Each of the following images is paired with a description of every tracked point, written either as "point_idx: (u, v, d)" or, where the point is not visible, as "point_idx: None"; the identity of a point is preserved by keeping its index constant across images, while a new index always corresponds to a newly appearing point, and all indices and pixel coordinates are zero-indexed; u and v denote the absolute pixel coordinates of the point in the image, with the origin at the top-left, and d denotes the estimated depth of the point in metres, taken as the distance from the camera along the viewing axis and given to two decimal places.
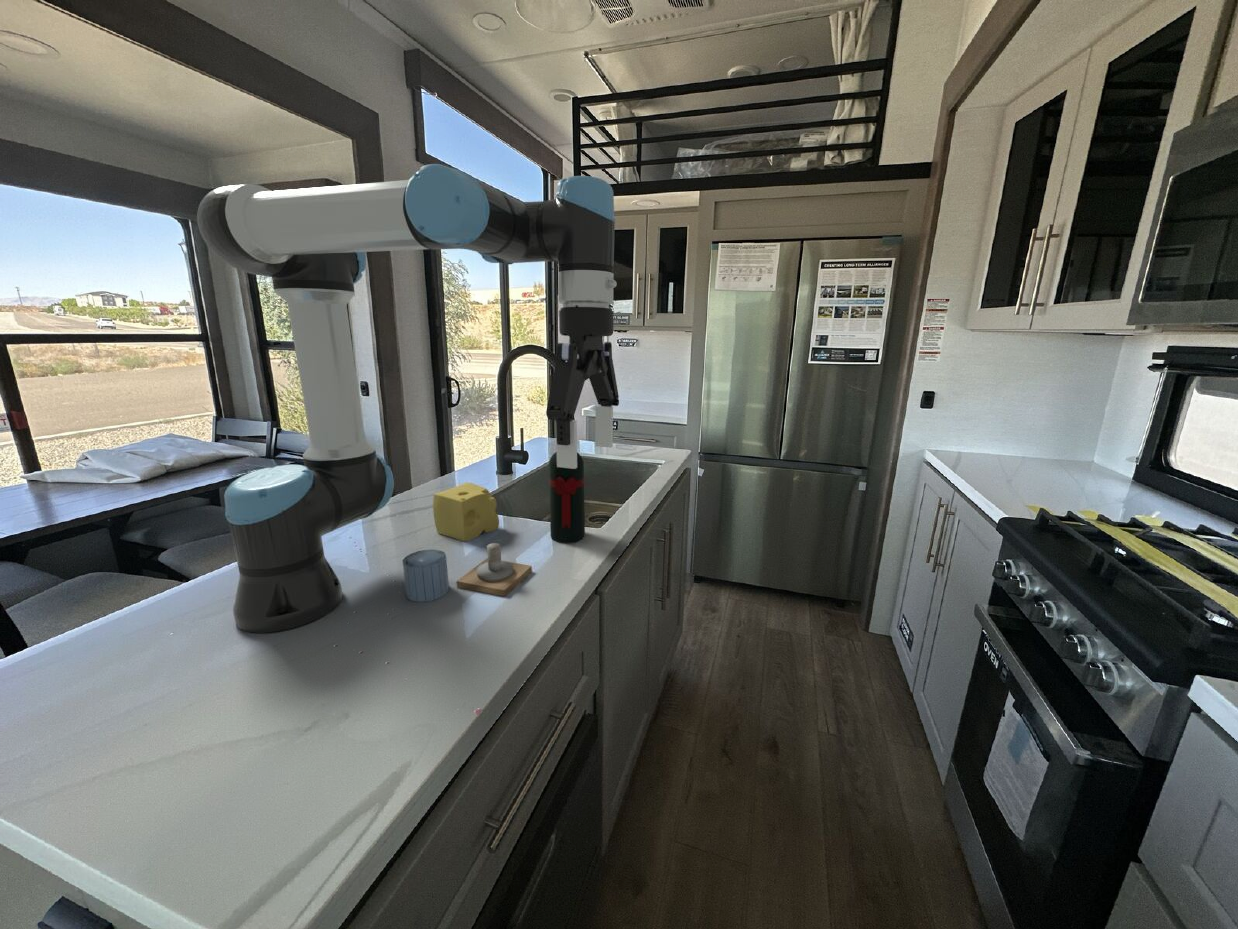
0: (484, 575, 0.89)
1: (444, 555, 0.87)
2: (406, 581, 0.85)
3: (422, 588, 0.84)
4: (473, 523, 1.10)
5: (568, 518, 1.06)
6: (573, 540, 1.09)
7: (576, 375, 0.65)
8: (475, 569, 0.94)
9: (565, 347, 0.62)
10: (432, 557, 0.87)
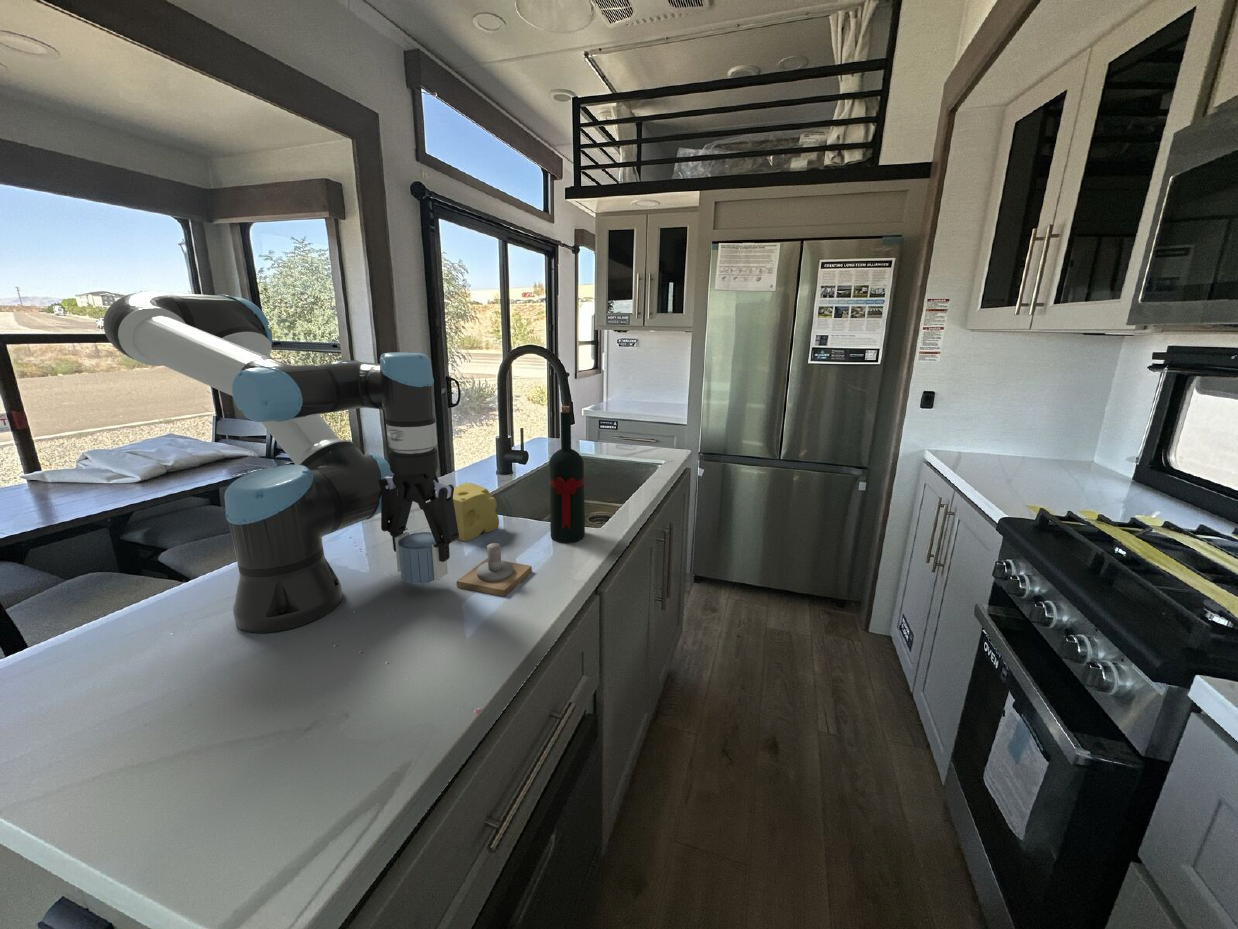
0: (484, 575, 0.89)
1: None
2: (401, 563, 0.84)
3: (417, 570, 0.83)
4: (473, 523, 1.10)
5: (568, 518, 1.06)
6: (573, 540, 1.09)
7: None
8: (475, 569, 0.94)
9: None
10: (427, 539, 0.86)
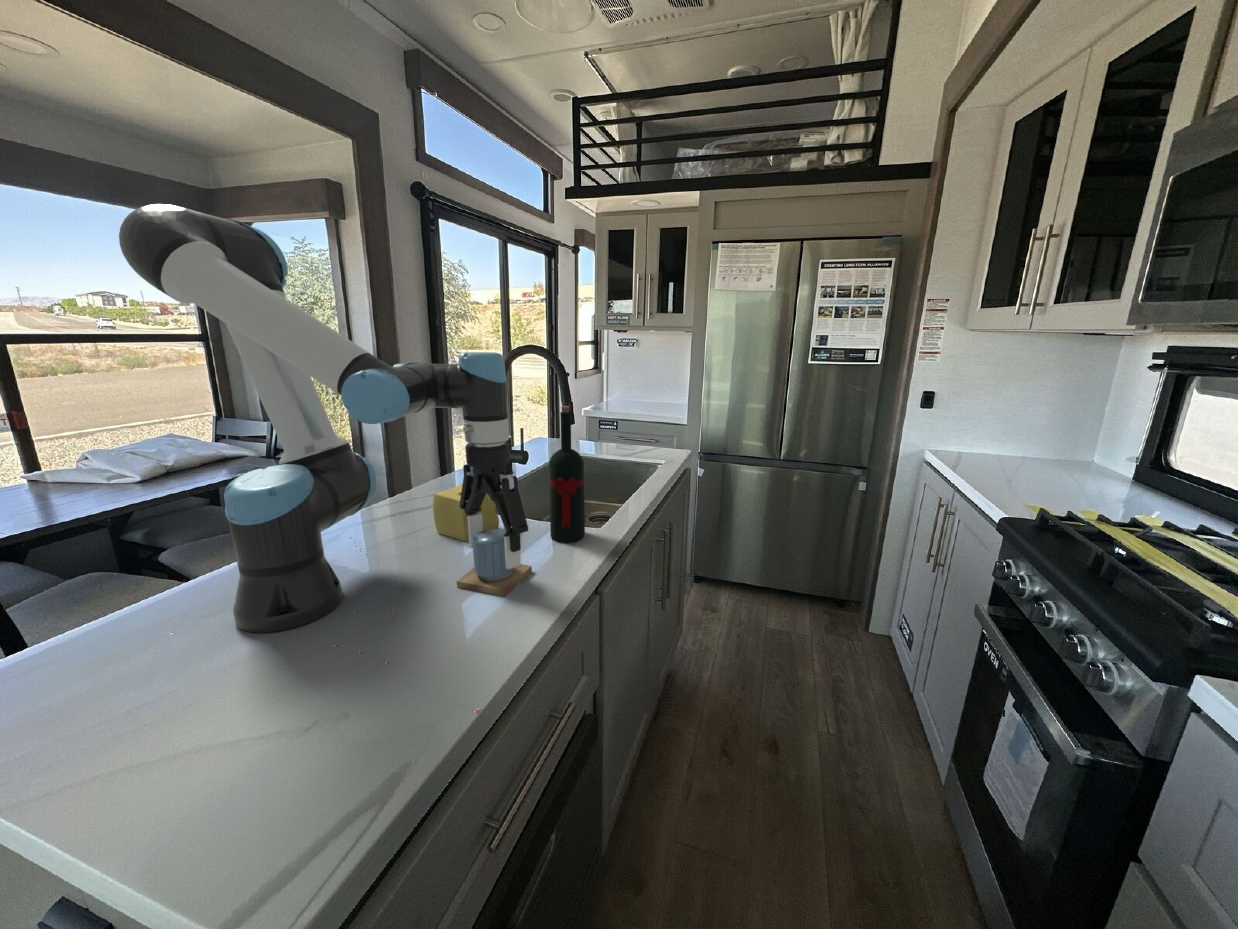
0: None
1: None
2: None
3: (484, 564, 0.88)
4: None
5: (568, 518, 1.06)
6: (573, 540, 1.09)
7: None
8: None
9: None
10: (499, 536, 0.90)
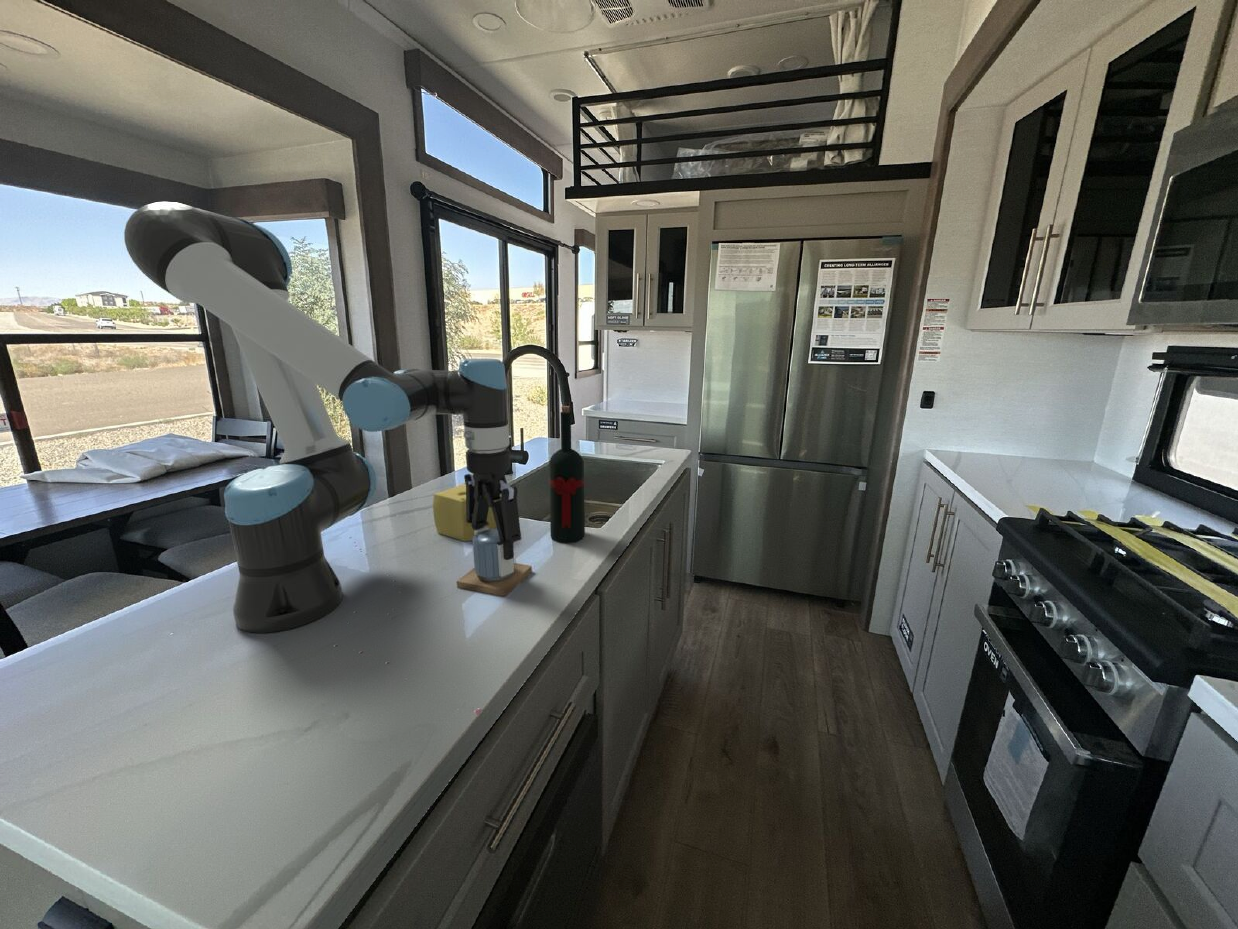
0: None
1: None
2: None
3: (484, 564, 0.88)
4: None
5: (568, 518, 1.06)
6: (573, 540, 1.09)
7: None
8: None
9: None
10: None
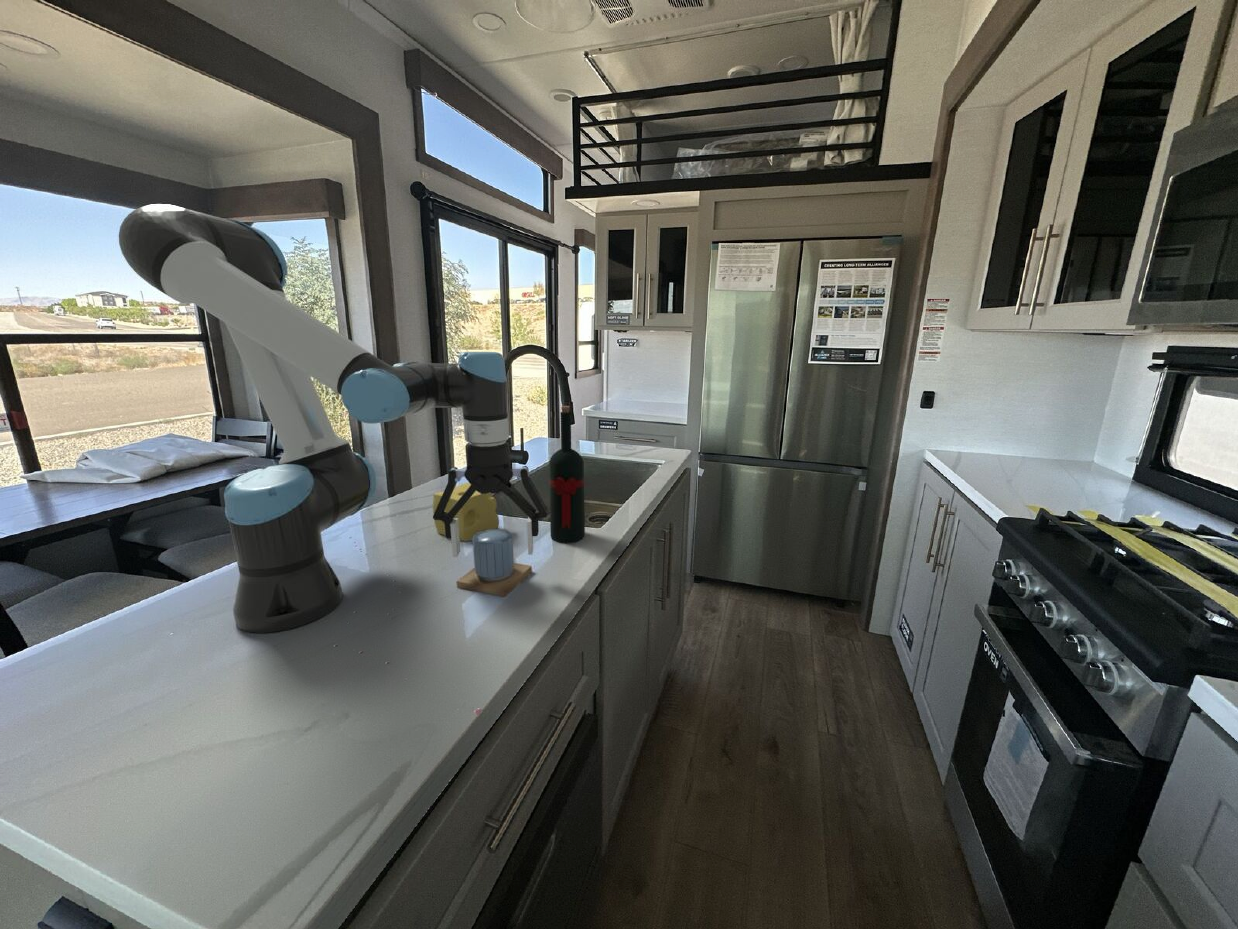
0: None
1: (508, 531, 0.93)
2: (482, 560, 0.88)
3: (501, 563, 0.88)
4: (473, 523, 1.10)
5: (568, 518, 1.06)
6: (573, 540, 1.09)
7: None
8: None
9: None
10: (498, 534, 0.91)
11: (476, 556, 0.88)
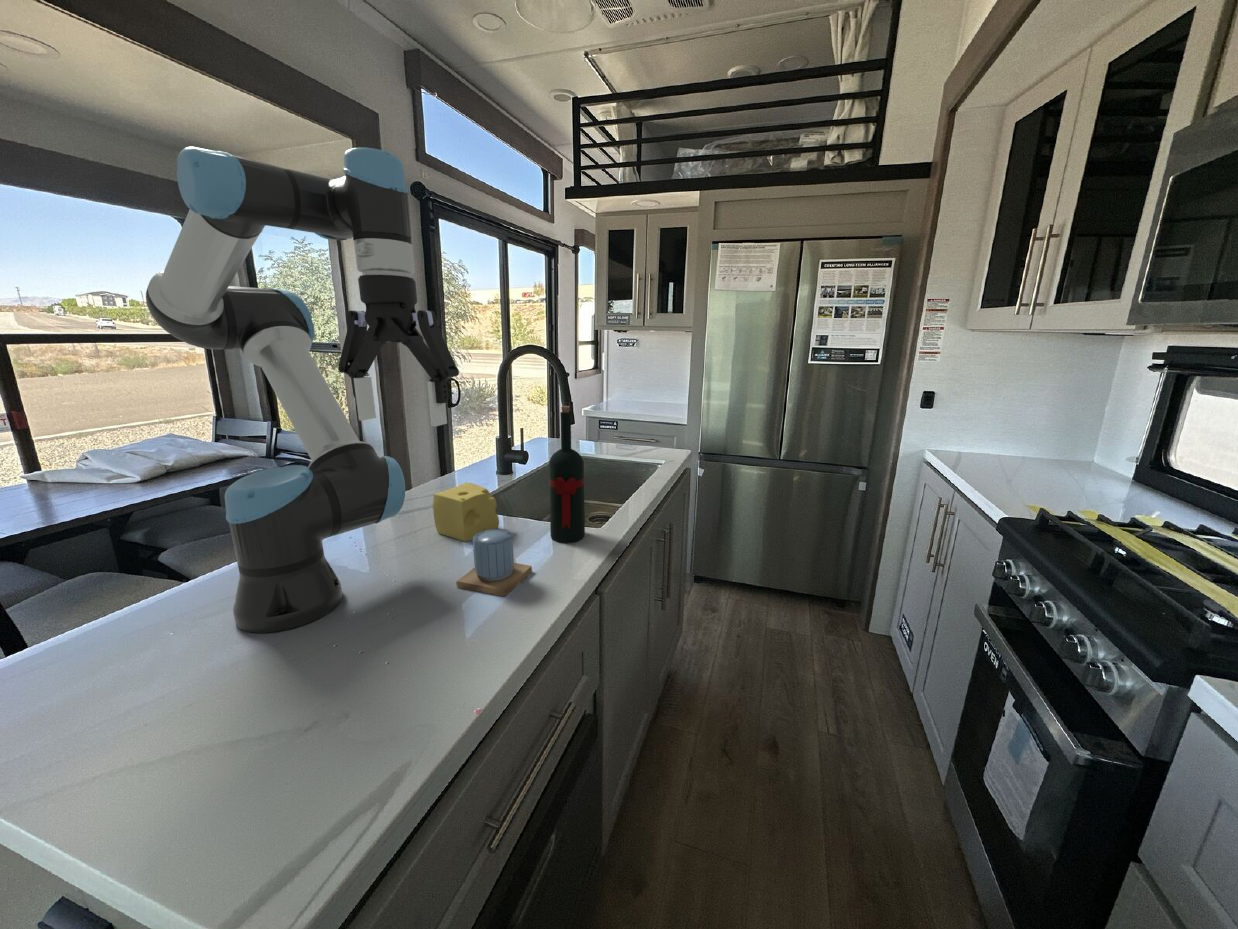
0: None
1: (495, 529, 0.93)
2: (499, 559, 0.88)
3: (512, 557, 0.91)
4: (473, 523, 1.10)
5: (568, 518, 1.06)
6: (573, 540, 1.09)
7: None
8: None
9: None
10: (493, 534, 0.91)
11: (490, 559, 0.88)
